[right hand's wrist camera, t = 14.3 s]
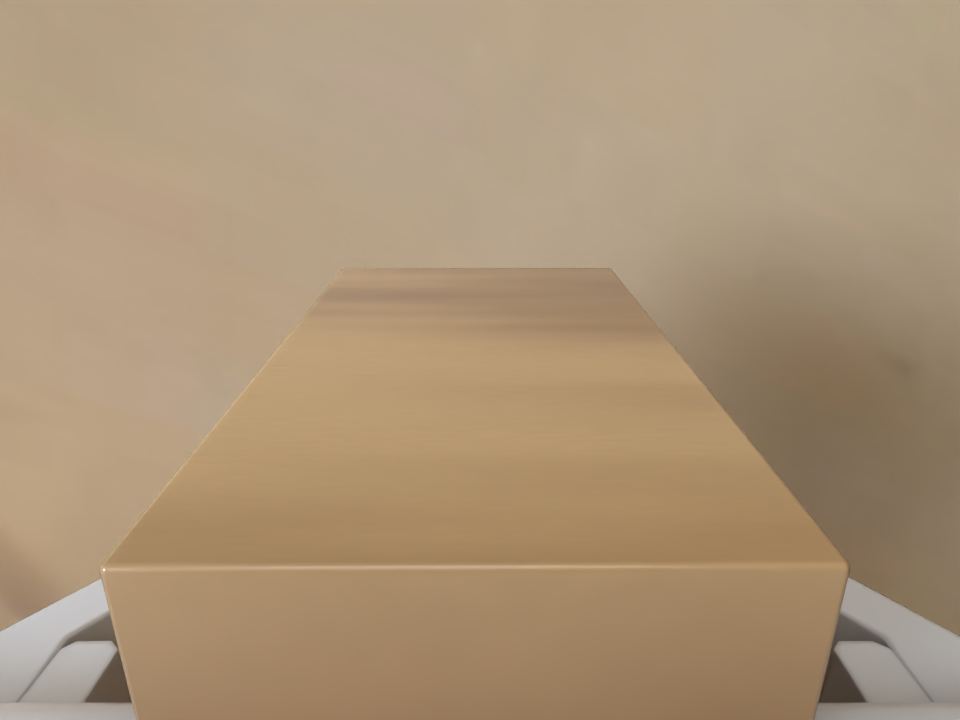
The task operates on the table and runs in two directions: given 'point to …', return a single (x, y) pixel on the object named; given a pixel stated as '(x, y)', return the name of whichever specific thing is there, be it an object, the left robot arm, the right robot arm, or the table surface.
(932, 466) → the table surface
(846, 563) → the bar
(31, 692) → the right robot arm
